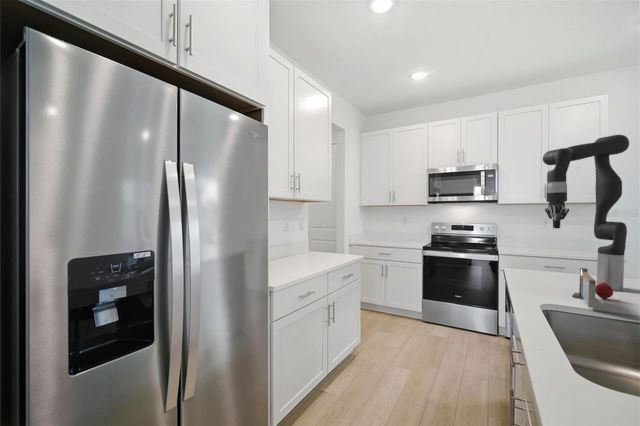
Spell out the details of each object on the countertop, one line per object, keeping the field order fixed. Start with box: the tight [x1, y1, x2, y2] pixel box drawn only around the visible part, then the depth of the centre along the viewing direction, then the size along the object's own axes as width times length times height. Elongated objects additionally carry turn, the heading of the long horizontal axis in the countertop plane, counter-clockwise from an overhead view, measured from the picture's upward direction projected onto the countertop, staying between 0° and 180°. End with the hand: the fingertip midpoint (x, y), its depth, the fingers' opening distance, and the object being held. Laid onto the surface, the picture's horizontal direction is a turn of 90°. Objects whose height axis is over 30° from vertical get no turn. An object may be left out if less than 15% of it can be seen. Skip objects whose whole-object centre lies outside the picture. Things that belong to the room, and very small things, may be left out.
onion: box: [595, 281, 614, 300], centre depth 123 cm, size 6×6×8 cm
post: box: [572, 267, 588, 300], centre depth 125 cm, size 6×6×13 cm
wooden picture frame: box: [581, 271, 597, 309], centre depth 116 cm, size 18×2×11 cm, turn 144°
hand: (556, 228), depth 133 cm, fingers closed
